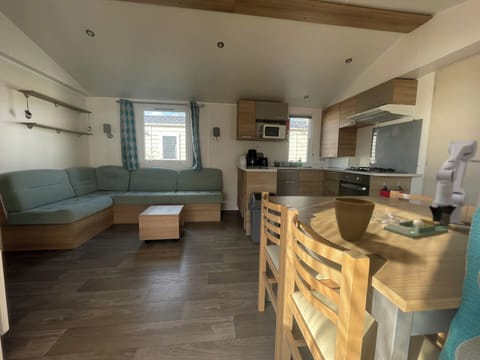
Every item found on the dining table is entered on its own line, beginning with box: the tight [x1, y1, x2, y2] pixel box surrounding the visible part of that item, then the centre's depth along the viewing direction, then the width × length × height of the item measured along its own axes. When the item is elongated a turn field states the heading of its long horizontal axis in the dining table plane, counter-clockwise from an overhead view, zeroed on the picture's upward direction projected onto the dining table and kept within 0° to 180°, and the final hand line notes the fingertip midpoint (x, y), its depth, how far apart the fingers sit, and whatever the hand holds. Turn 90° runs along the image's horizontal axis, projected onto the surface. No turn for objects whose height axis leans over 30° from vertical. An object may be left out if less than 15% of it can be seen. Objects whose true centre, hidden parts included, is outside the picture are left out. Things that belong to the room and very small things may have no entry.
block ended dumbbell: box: [419, 213, 451, 226], centre depth 100 cm, size 14×5×5 cm, turn 111°
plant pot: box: [333, 196, 376, 242], centre depth 84 cm, size 15×15×16 cm
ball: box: [412, 219, 424, 228], centre depth 95 cm, size 4×4×4 cm
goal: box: [387, 218, 420, 235], centre depth 92 cm, size 6×9×4 cm
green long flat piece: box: [383, 219, 452, 239], centre depth 97 cm, size 36×12×3 cm, turn 111°
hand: (441, 220), depth 102 cm, fingers open, 7 cm apart
